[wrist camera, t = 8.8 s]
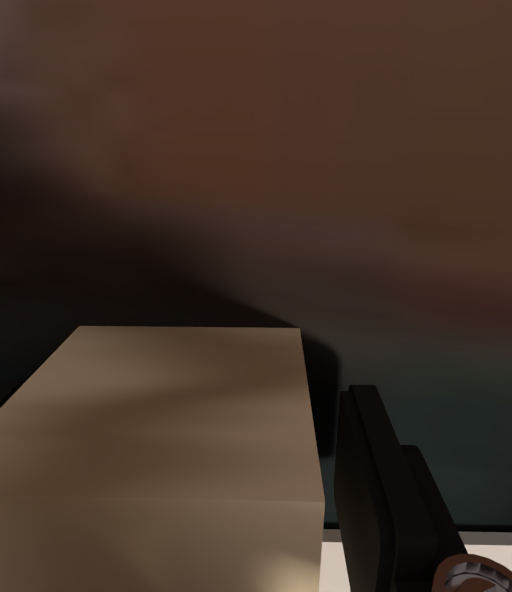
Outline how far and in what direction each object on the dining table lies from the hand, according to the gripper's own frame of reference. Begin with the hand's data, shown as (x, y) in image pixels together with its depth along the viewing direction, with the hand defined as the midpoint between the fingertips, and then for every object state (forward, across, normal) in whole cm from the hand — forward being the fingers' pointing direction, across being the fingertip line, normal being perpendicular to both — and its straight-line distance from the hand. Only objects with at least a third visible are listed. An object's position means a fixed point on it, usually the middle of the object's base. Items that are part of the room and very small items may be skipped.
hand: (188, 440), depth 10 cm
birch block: (+1, 0, 0) cm, 1 cm away
